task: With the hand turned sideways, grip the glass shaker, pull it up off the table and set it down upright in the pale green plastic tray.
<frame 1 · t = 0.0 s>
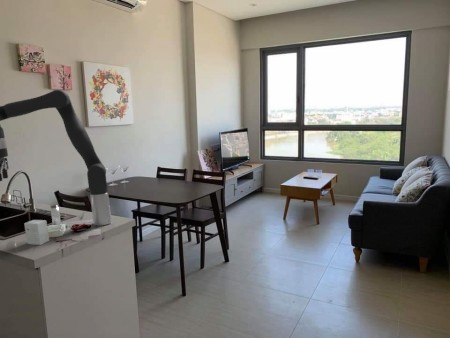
hand: (2, 179, 173), 29 cm above the table, tool pointing down, fingers open, 8 cm apart
glass shaker: (57, 226, 188), on the table
small box: (38, 243, 164), on the table
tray: (52, 233, 176), on the table
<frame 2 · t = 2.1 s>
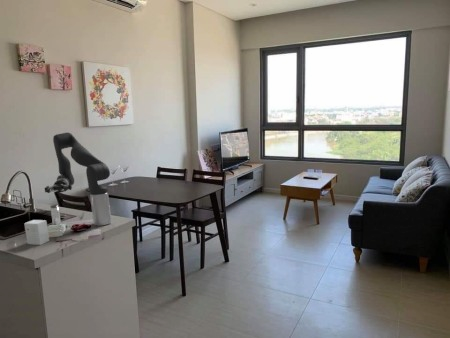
hand: (56, 190, 196), 18 cm above the table, tool horizontal, fingers open, 8 cm apart
nothing on the table moved.
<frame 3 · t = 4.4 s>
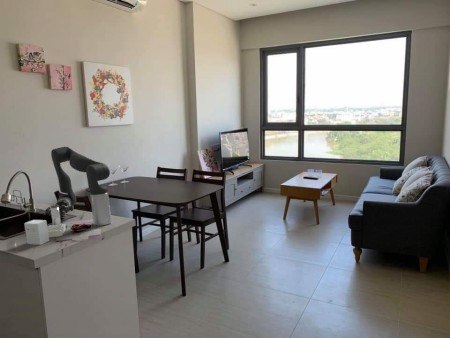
hand: (57, 212, 193), 7 cm above the table, tool horizontal, fingers open, 8 cm apart
nothing on the table moved.
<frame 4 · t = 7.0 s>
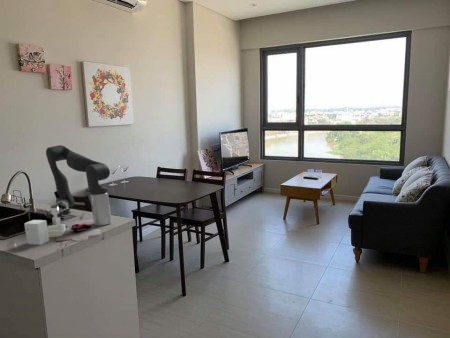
hand: (54, 216, 185), 7 cm above the table, tool horizontal, fingers closed on glass shaker, 4 cm apart
glass shaker: (57, 226, 188), on the table, touching gripper
everything else where it was.
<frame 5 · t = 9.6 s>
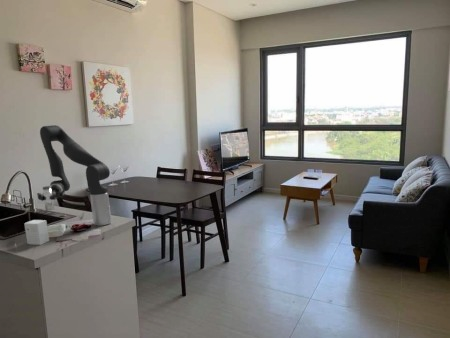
hand: (47, 198, 173), 19 cm above the table, tool horizontal, fingers closed on glass shaker, 4 cm apart
glass shaker: (50, 209, 176), point 12 cm above the table, touching gripper
everything else where it was.
when the fingers open (9 cm above the table, at t = 12.6 s): glass shaker drops 2 cm, resting on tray.
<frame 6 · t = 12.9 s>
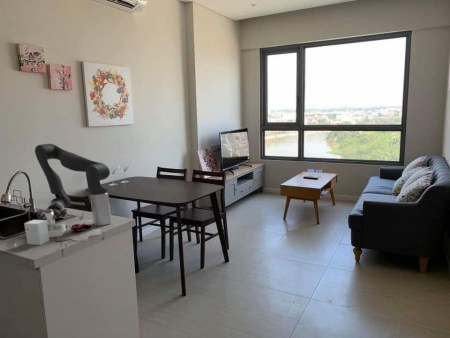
hand: (49, 217, 173), 9 cm above the table, tool horizontal, fingers open, 6 cm apart
glass shaker: (52, 232, 176), point 1 cm above the table, touching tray
everything else where it was.
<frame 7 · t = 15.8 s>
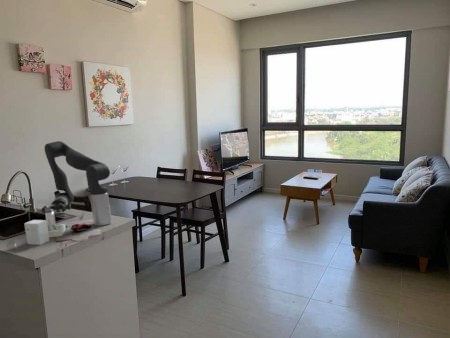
hand: (54, 211, 185), 9 cm above the table, tool horizontal, fingers open, 8 cm apart
nothing on the table moved.
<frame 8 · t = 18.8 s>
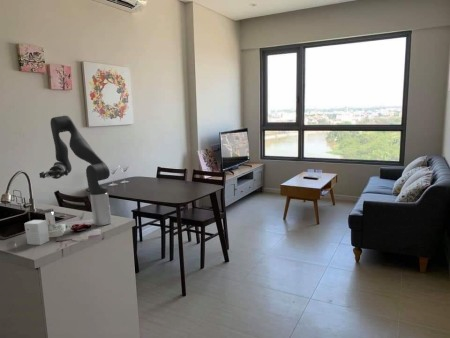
hand: (51, 175, 187), 28 cm above the table, tool horizontal, fingers open, 8 cm apart
nothing on the table moved.
at the end: glass shaker 0.1 cm off-centre on the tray, point 0.8 cm above the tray's base; glass shaker tilted 1°; the gripper is holding nothing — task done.
